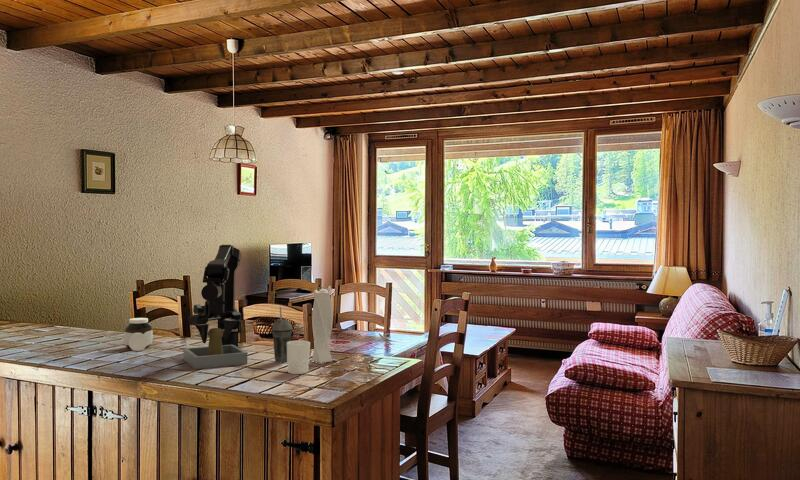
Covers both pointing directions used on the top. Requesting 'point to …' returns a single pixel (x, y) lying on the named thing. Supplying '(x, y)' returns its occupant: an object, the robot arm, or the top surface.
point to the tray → (215, 357)
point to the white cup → (298, 356)
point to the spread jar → (138, 334)
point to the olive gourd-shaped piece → (215, 341)
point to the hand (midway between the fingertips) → (215, 341)
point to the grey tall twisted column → (322, 325)
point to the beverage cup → (281, 338)
